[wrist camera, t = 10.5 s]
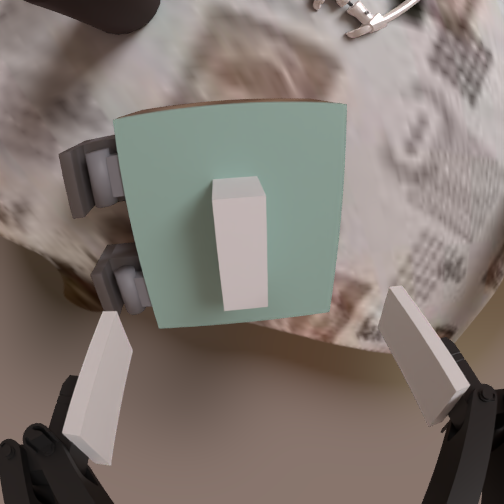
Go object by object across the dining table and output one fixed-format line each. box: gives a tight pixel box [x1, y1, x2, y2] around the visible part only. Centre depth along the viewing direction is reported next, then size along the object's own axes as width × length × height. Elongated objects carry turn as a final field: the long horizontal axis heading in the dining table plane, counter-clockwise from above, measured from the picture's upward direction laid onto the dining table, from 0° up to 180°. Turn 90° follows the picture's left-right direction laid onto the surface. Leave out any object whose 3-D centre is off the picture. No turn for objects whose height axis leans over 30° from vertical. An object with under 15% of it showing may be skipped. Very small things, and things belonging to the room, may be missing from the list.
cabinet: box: [59, 99, 333, 316], centre depth 26 cm, size 20×18×10 cm
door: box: [85, 102, 347, 328], centre depth 21 cm, size 18×18×6 cm
